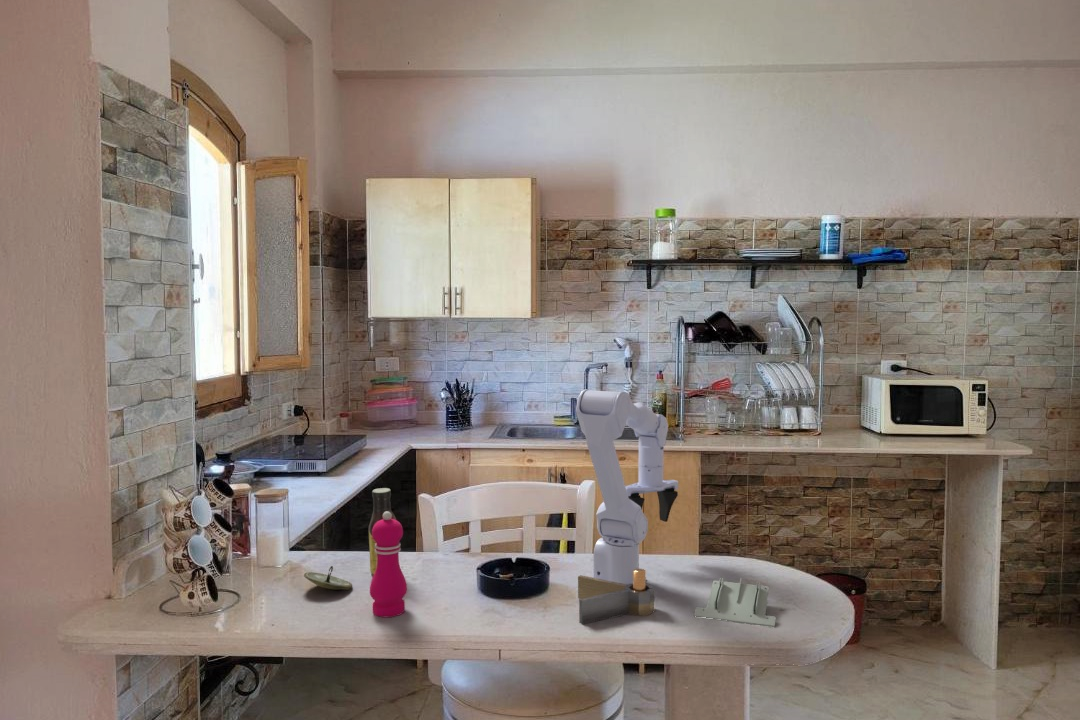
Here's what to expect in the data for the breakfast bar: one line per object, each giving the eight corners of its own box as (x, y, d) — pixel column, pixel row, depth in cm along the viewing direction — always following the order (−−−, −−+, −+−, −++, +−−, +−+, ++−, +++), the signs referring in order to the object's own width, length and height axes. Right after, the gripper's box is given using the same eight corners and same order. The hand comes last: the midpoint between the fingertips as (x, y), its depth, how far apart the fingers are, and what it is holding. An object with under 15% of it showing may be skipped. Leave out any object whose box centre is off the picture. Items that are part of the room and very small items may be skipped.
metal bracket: (704, 569, 166) (779, 577, 161) (705, 593, 168) (779, 601, 163) (692, 612, 154) (774, 623, 148) (693, 637, 156) (774, 648, 150)
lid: (295, 589, 171) (294, 566, 171) (337, 578, 178) (337, 556, 177) (318, 602, 163) (318, 578, 163) (361, 590, 170) (361, 567, 169)
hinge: (549, 616, 155) (549, 593, 155) (585, 593, 168) (585, 572, 168) (625, 634, 147) (625, 610, 147) (657, 608, 159) (657, 586, 159)
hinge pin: (630, 611, 158) (631, 571, 158) (636, 607, 160) (636, 567, 160) (642, 613, 157) (642, 573, 156) (647, 609, 159) (647, 569, 158)
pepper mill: (413, 606, 161) (412, 508, 159) (395, 620, 154) (394, 517, 152) (382, 602, 163) (380, 505, 162) (363, 615, 156) (361, 514, 155)
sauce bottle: (385, 571, 182) (384, 484, 181) (405, 576, 178) (403, 488, 177) (363, 579, 177) (361, 490, 175) (383, 585, 173) (381, 494, 172)
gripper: (635, 471, 179) (634, 531, 180) (686, 465, 186) (686, 522, 187) (617, 465, 185) (617, 523, 186) (668, 459, 192) (667, 515, 193)
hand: (650, 522), depth 187 cm, fingers open, 7 cm apart
